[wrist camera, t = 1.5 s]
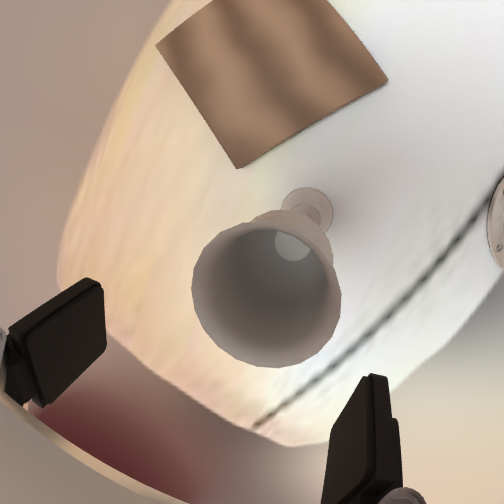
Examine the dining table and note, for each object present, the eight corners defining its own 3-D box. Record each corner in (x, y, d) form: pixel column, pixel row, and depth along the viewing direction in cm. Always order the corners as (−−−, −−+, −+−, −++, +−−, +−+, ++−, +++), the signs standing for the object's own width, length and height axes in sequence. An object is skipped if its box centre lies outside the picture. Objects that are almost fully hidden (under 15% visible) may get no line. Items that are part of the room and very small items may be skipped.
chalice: (275, 172, 30) (191, 211, 13) (346, 181, 28) (356, 234, 12) (269, 244, 32) (193, 350, 16) (336, 255, 31) (324, 379, 14)
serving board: (288, -34, 22) (284, -43, 20) (385, 84, 24) (388, 79, 22) (164, 49, 28) (155, 45, 26) (242, 167, 30) (236, 169, 28)
